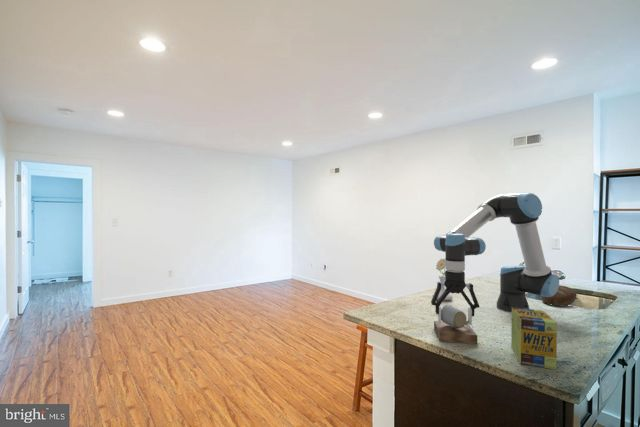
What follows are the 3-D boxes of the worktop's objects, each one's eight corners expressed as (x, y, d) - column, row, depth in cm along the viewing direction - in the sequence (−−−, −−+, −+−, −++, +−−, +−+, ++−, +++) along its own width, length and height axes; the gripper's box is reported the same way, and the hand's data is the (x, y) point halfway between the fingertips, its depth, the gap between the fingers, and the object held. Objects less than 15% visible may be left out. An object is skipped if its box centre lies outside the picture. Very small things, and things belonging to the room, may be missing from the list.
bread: (536, 303, 182) (536, 289, 182) (549, 293, 207) (549, 280, 207) (570, 309, 171) (570, 294, 171) (580, 297, 196) (580, 284, 196)
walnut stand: (467, 331, 137) (467, 323, 137) (477, 344, 123) (477, 335, 123) (434, 328, 140) (434, 320, 140) (439, 341, 126) (439, 332, 126)
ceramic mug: (454, 330, 126) (454, 311, 126) (439, 323, 134) (439, 305, 134) (473, 327, 130) (474, 308, 130) (458, 320, 138) (458, 303, 138)
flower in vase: (430, 296, 196) (430, 256, 196) (449, 297, 194) (449, 256, 194) (435, 302, 183) (435, 259, 183) (455, 303, 181) (456, 259, 181)
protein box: (520, 364, 107) (520, 319, 107) (510, 346, 122) (511, 306, 122) (557, 370, 103) (557, 323, 103) (543, 351, 118) (543, 309, 118)
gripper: (482, 270, 133) (482, 321, 133) (424, 268, 138) (423, 317, 138) (488, 273, 126) (488, 328, 126) (426, 271, 130) (426, 323, 130)
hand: (454, 322), depth 132 cm, fingers closed on ceramic mug, 11 cm apart
